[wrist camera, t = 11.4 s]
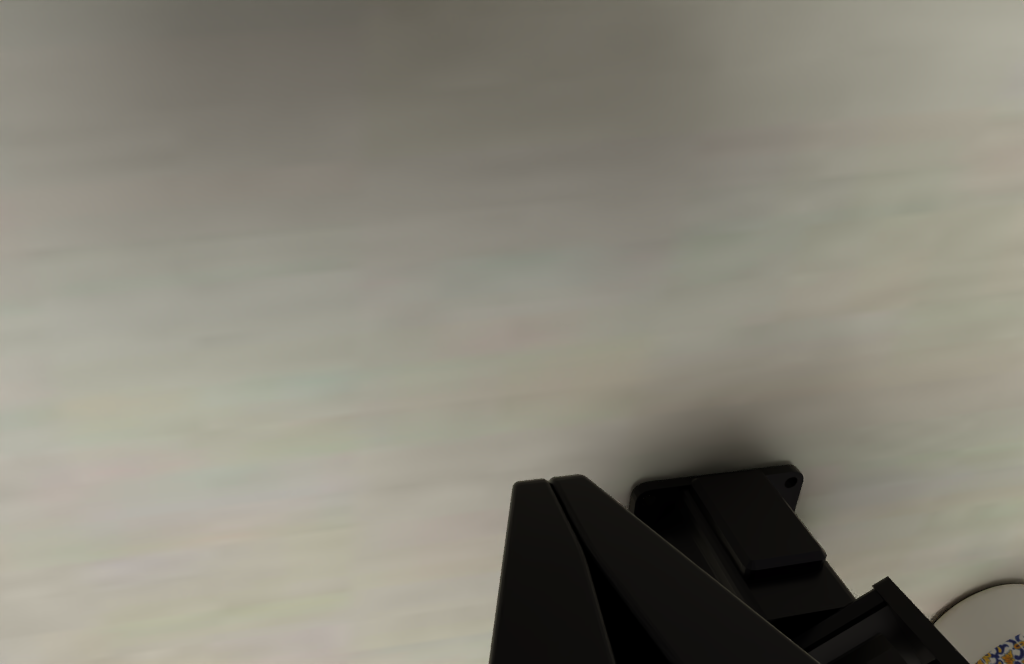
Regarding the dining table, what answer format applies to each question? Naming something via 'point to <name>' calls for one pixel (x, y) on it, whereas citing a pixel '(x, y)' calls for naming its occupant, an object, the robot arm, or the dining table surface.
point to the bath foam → (988, 626)
